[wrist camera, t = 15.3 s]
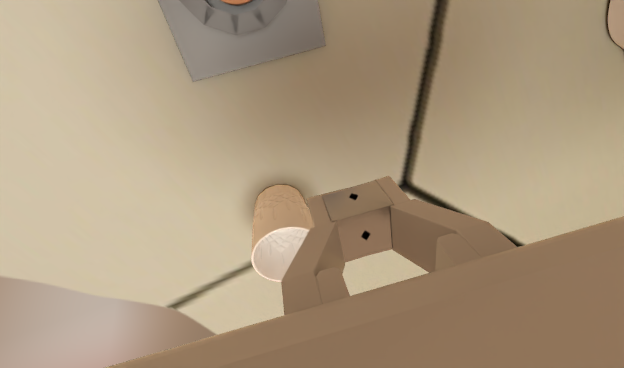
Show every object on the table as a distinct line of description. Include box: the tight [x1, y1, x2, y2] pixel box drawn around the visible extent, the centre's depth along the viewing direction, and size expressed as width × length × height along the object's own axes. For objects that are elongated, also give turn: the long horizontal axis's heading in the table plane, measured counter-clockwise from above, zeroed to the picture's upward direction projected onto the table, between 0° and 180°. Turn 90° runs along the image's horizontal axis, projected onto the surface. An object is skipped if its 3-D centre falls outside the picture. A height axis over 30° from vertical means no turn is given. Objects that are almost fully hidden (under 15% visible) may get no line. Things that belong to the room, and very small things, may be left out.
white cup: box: [251, 185, 314, 282], centre depth 34 cm, size 8×8×10 cm
